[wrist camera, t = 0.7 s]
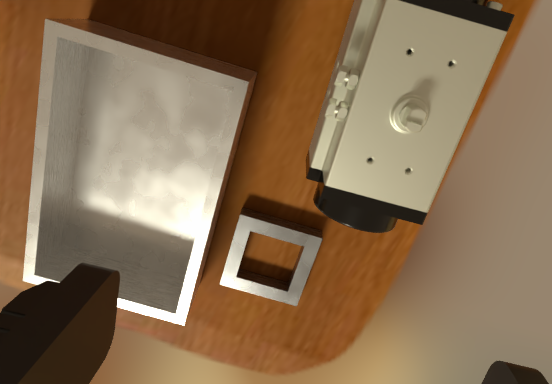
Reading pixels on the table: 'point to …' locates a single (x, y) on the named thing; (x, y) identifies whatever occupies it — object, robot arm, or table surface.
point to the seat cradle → (131, 161)
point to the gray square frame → (278, 230)
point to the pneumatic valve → (399, 106)
